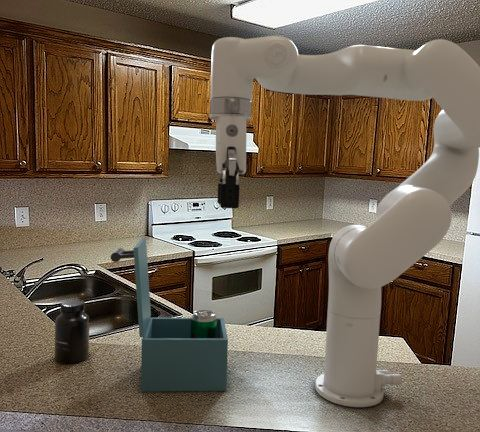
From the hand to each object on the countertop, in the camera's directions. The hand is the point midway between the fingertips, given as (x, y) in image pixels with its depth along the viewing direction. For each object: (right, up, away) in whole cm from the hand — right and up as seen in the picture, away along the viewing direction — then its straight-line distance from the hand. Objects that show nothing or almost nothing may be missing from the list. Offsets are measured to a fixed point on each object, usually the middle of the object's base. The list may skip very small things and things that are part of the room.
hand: (227, 205), depth 83 cm
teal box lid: (-16, -15, +4) cm, 22 cm away
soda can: (-5, -33, +7) cm, 34 cm away
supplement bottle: (-33, -32, +13) cm, 48 cm away
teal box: (-9, -34, +6) cm, 35 cm away
